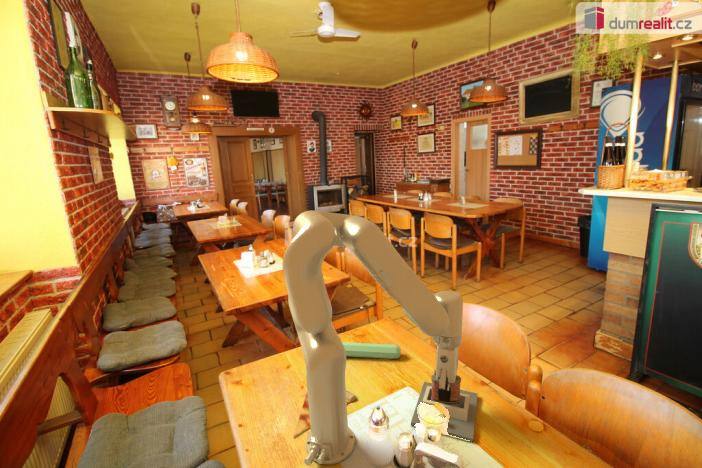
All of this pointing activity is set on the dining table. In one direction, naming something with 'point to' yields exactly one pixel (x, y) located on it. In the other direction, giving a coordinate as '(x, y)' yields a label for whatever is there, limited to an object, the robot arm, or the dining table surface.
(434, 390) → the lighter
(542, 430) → the dining table surface
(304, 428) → the pizza slice
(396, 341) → the dining table surface
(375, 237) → the robot arm
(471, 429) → the holder
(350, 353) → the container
